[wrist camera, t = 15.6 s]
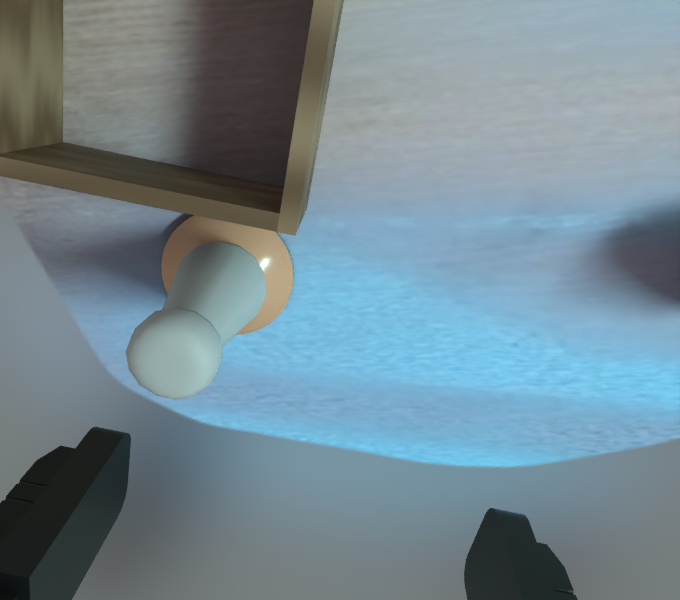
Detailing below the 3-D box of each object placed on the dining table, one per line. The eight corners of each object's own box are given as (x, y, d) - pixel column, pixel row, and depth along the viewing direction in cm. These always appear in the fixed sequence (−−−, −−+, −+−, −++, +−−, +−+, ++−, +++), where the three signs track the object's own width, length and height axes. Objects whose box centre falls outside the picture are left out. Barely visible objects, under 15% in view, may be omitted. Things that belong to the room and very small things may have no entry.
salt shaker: (202, 319, 37) (128, 430, 25) (174, 243, 35) (80, 323, 23) (281, 303, 37) (245, 408, 25) (258, 224, 35) (206, 296, 23)
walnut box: (44, -173, 28) (-52, -253, 21) (361, -99, 29) (362, -154, 22) (46, 154, 34) (-27, 170, 28) (306, 208, 35) (295, 235, 28)
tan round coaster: (169, 195, 35) (166, 196, 34) (304, 222, 35) (303, 224, 35) (159, 318, 38) (156, 321, 38) (282, 341, 39) (281, 345, 38)
